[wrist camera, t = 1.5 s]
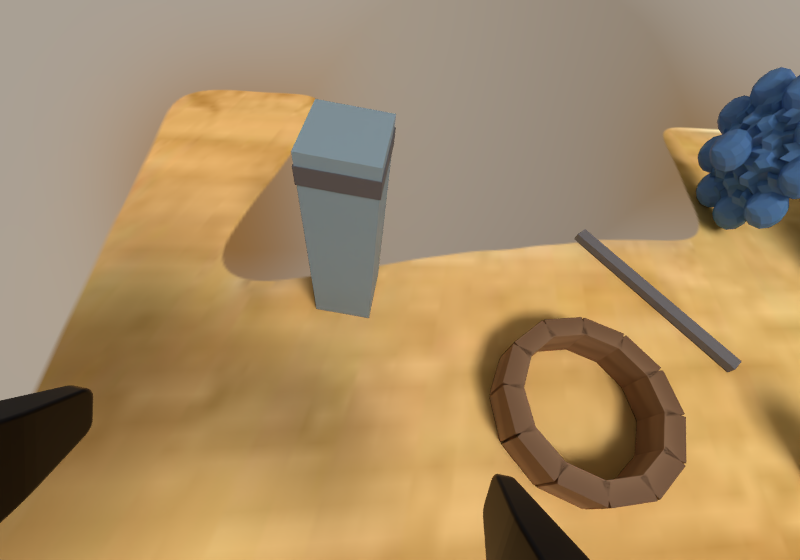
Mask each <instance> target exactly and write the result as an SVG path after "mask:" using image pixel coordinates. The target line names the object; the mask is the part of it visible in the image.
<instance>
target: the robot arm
mask: <svg viewBox="0 0 800 560" xmlns="http://www.w3.org/2000/svg"><path fill="white" fill-rule="evenodd" d="M92 416H93V394H92V392H91V390H89V389H87V388H82V387H78V386H64V387H60V388H55V389H51V390H46V391H42V392H37V393H33V394H28V395H24V396H19V397H15V398H11V399H6V400H1V401H0V523H1V522H2V521H3V520H4V519H5V518H6V517H7V516H8V515H9V514H10V513H12V512H13V511H14V510H15V509H16V508H17V507H18V506H19V505H20V504H21V503H22V502H23V501H24V500H25V499H26V498H27V497H28V496H29V495H30V494H31V493H32V492H33V491H34V490H35V489H36V488H37V487H38V486H39V485H40V484H41V482H42V481H43V480H44V479H45V478H46V477H47V476H48V475H49V474H50V473H51V472H52V471H53V470H54V469H55V467H56V466H57V465H58V464H59V463H60V462H61V461H62V460H63V459H64V458H65V457H66V456H67V455H68V453H69V452H70V451H71V450H72V449H73V448H74V447H75V446H76V445H77V444H78V443H79V442H80V441H81V439H82V438H83V437H84V436H85V435H86V434H87V433H88V431H89V429H90V427H91V425H92ZM483 521H484V535H485V548H486V560H590V559H589V558H588V557H587V556H586V555H585V554H584V553H583V552H582V551H581V550H580V549H579V548H578V546H577V545H576V544H575V543H574V542H573V541H572V540H571V539H570V538H569V537H568V536H567V535H566V534H565V532H564V531H563V530H562V529H561V528H560V527H559V526H558V525H557V524H556V523H555V522H554V521H553V520H552V518H551V517H550V516H549V515H548V514H547V513H546V512H545V511H544V510H543V509H542V508H541V507H540V506H539V504H538V503H537V502H536V501H535V500H534V499H533V498H532V497H531V496H530V495H529V494H528V493H527V492H526V490H525V489H524V488H523V487H522V486H521V485H520V484H519V483H518V482H517V481H516V480H515V479H514V478H513V477H510V476H505V475H500V474H496V475H494V476H493V478H492V480H491V484H490V487H489V490H488V493H487V497H486V500H485V504H484V509H483Z"/></svg>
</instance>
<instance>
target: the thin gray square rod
mask: <svg viewBox="0 0 800 560" xmlns="http://www.w3.org/2000/svg"><path fill="white" fill-rule="evenodd" d="M575 240H576V241H578V242H579V243H580V244H581V245H582V246H583V247H584V248H586V249H587V250H588V251H589V252H590V253H591V254H593V255H594V256H595V257H596V258H597V259H598V260H599V261H601V262H602V263H603V264H604V265H605V266H606V267H607V268H609V269H610V270H611V271H612V272H613V273H614V274H616V275H617V276H618V277H619V278H620V279H621V280H622V281H624V282H625V283H626V284H627V285H628V286H629V287H630V288H632V289H633V290H634V291H635V292H636V293H637V294H639V295H640V296H641V297H642V298H643V299H644V300H645V301H647V302H648V303H649V304H650V305H651V306H652V307H653V308H655V309H656V310H657V311H658V312H659V313H660V314H662V315H663V316H664V317H665V318H666V319H667V320H668V321H670V322H671V323H672V324H673V325H674V326H675V327H676V328H678V329H679V330H680V331H681V332H682V333H683V334H685V335H686V336H687V337H688V338H689V339H690V340H691V341H693V342H694V343H695V344H696V345H697V346H698V347H699V348H701V349H702V350H703V351H704V352H705V353H706V354H708V355H709V356H710V357H711V358H712V359H713V360H714V361H716V362H717V363H718V364H719V365H720V366H721V367H722V368H724V369H725V370H726V371H727V372H730V371H732V370H735V369H736V368H737V367H738V365H739V364H740V363H741V362H742V361H740V360H739V359H738V358H737V357H736V356H735V355H733V354H732V353H731V352H730V351H729V350H727V349H726V348H725V347H724V346H723V345H722V344H720V343H719V342H718V341H717V340H716V339H714V338H713V337H712V336H711V335H710V334H709V333H707V332H706V331H705V330H704V329H703V328H701V327H700V326H699V325H698V324H697V323H696V322H694V321H693V320H692V319H691V318H690V317H688V316H687V315H686V314H685V313H684V312H682V311H681V310H680V309H679V308H678V307H677V306H675V305H674V304H673V303H672V302H671V301H669V300H668V299H667V298H666V297H665V296H664V295H662V294H661V293H660V292H659V291H658V290H656V289H655V288H654V287H653V286H652V285H651V284H649V283H648V282H647V281H646V280H645V279H643V278H642V277H641V276H640V275H639V274H638V273H636V272H635V271H634V270H633V269H632V268H630V267H629V266H628V265H627V264H626V263H625V262H623V261H622V260H621V259H620V258H619V257H617V256H616V255H615V254H614V253H613V252H612V251H610V250H609V249H608V248H607V247H606V246H604V245H603V244H602V243H601V242H600V241H599V240H597V239H596V238H595V237H594V236H593V235H591V234H590V233H589V232H588V231H587V230H583V231H582V232H580V233H579V234H578V235H577V236H576V237H575Z"/></svg>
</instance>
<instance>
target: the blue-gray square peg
mask: <svg viewBox="0 0 800 560" xmlns="http://www.w3.org/2000/svg"><path fill="white" fill-rule="evenodd" d="M395 118H396V114H392V113H387V112H382V111H377V110H372V109H366V108H361V107H355V106H350V105H345V104H339V103H334V102H329V101H324V100H318V99H315V101H314V103H313V105H312V107H311V110H310V112H309V114H308V116H307V118H306V120H305V123H304V125H303V127H302V129H301V131H300V133H299V135H298V138H297V140H296V142H295V144H294V146H293V148H292V151H291V154H292V160H293V165H292V170H293V176H294V182H295V185H297V191H298V197H299V203H300V210H301V215H302V222H303V228H304V234H305V241H306V247H307V253H308V259H309V265H310V272H311V278H312V284H313V290H314V296H315V303H316V309H321V310H326V311H332V312H337V313H343V314H349V315H354V316H360V317H366V318H369V315H370V310H371V305H372V301H373V296H374V291H375V286H376V281H377V277H378V269H379V261H380V252H381V243H382V234H383V225H384V216H385V207H386V198H387V189H388V180H389V172H390V162H391V154H392V150H393V145H394V137H395V129H396V128H395Z"/></svg>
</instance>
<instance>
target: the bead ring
mask: <svg viewBox="0 0 800 560" xmlns="http://www.w3.org/2000/svg"><path fill="white" fill-rule="evenodd" d="M623 335H624V334H623V333H621V332H618V331H616V330H613V329H611V328H608V327H606V326H603V325H601V324H598V323H596V322H594V321H591V320H589V319H586V318H583V319H582V317H577V318H561V319H546V320H544V321H541V322H540V323H538V324H537V325H536V326H534V327H533V328H532V329H531V330H529V331H528V332H527V333H525V334H524V335H523V336H522V337H520V338H519V339H518V340H516V341H515V342H514V343H513V344H512V345H511V346H510V348H509V349H508V350H507V351H506V352H505V353H504V354H503V355H502V356H501V358H500V360H499V363H498V367H497V370H496V373H495V377H494V380H493V384H492V387H491V391H490V395H491V396H490V401H491V405H492V410H493V414H494V418H495V422H496V426H497V430H498V434H499V438H500V442H501V441H505V442H504V443H503V444H502V446H503V447H504V448H505V449H506V451H507V452H508V453H509V454H510V456H511V457H512V458H513V459H514V461H515V462H516V463H517V464H518V466H519V467H520V468H521V469H522V471H523V472H524V473H525V474H526V476H527V477H528V478H529V479H530V481H531V482H532V483H533V484H534V485H537V488H539V489H541V490H544V491H546V492H548V493H550V494H552V495H554V496H556V497H558V498H560V499H563V500H565V501H567V502H569V503H571V504H573V505H575V506H577V507H580V508H582V509H604V508H616V507H623V506H629V505H636V504H642V503H648V502H655V501H658V500H660V499H661V498H662V497H663V495H664V494H665V493H666V491H667V490H668V489H669V487H670V486H671V485H672V483H673V482H674V481H675V479H676V478H677V477H678V475H679V474H680V473H681V471H682V470H683V469H684V467H685V465H684V463H686V417H684V416H681V415H684V412H683V410H682V408H681V406H680V404H679V402H678V400H677V398H676V396H675V394H674V392H673V390H672V388H671V386H670V384H669V381H668V379H667V377H666V375H665V373H664V371H658V370H659V369H660V368H661V367H660V366H659V365H657V364H656V363H655V362H654V361H653V360H652V359H651V358H650V357H649V356H648V355H647V354H646V353H645V352H643V351H642V350H641V349H640V348H639V347H638V346H637V345H636V344H635V343H634V342H633V341H632V340H631V339H630V338H628V337H627V336H625V337H623ZM564 349H567V350H569V351H571V352H574V353H576V354H579V355H581V356H583V357H586V358H588V359H590V360H593V361H595V362H597V363H598V364H599V365H600V366H601V367H602V368H603V369H604V370H605V371H606V372H607V373H608V374H609V375H610V376H611V377H612V378H613V379H614V380H615V381H616V382H617V383H618V384H619V385H620V386H621V387H622V388H623V390H624V393H625V395H626V397H627V400H628V402H629V404H630V407H631V409H632V411H633V414H634V416H635V418H636V421H637V429H636V446H635V456H634V457H633V458H632V460H631V461H630V462H629V463H628V464H627V466H626V467H625V468H624V469H623V470H622V471H621V473H620V474H619V475H618V476H617V477H616V479H613V480H604V479H602V478H600V477H597V476H595V475H593V474H591V473H589V472H587V471H584V470H582V469H580V468H578V467H576V466H574V465H571V464H569V463H567V462H565V461H564V459H563V458H562V457H561V456H560V455H559V454H558V452H557V451H556V450H555V449H554V448H553V447H552V445H551V444H550V443H549V442H548V441H547V440H546V438H545V437H544V436H543V435H542V434H541V432H540V431H539V430H538V429H537V428H536V427H535V423H534V420H533V416H532V413H531V410H530V406H529V403H528V399H527V396H526V393H525V389H524V385H525V381H526V377H527V372H528V368H529V364H530V360H531V356H533V355H534V354H535V353H536V352H539V351H551V350H564Z"/></svg>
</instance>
